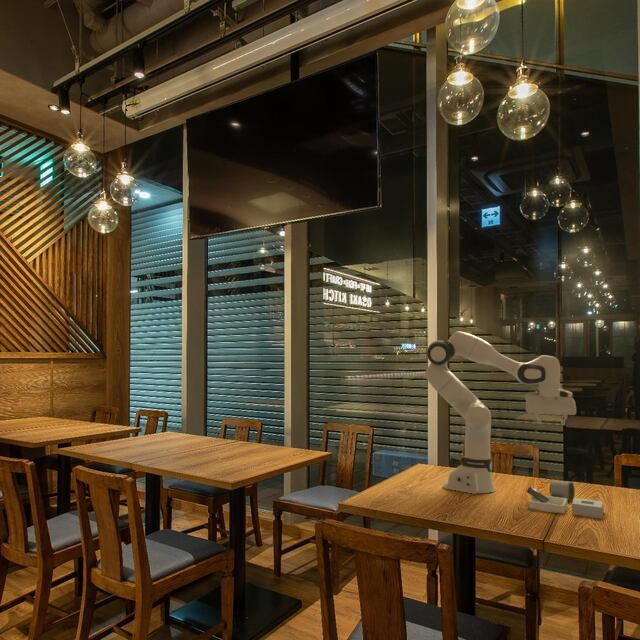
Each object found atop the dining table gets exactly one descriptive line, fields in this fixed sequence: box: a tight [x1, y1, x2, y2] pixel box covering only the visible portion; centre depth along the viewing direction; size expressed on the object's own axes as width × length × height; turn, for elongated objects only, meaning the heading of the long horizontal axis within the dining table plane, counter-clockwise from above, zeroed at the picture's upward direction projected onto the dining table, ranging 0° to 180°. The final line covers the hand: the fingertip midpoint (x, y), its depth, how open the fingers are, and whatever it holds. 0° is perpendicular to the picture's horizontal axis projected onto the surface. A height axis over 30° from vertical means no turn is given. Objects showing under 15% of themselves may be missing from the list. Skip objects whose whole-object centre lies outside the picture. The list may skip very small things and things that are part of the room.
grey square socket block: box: [571, 497, 604, 520], centre depth 199 cm, size 10×10×4 cm
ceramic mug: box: [549, 480, 576, 502], centre depth 218 cm, size 11×8×8 cm
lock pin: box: [526, 485, 549, 503], centre depth 209 cm, size 3×3×8 cm
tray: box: [528, 495, 569, 515], centre depth 206 cm, size 13×13×3 cm
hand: (550, 424), depth 226 cm, fingers open, 8 cm apart
